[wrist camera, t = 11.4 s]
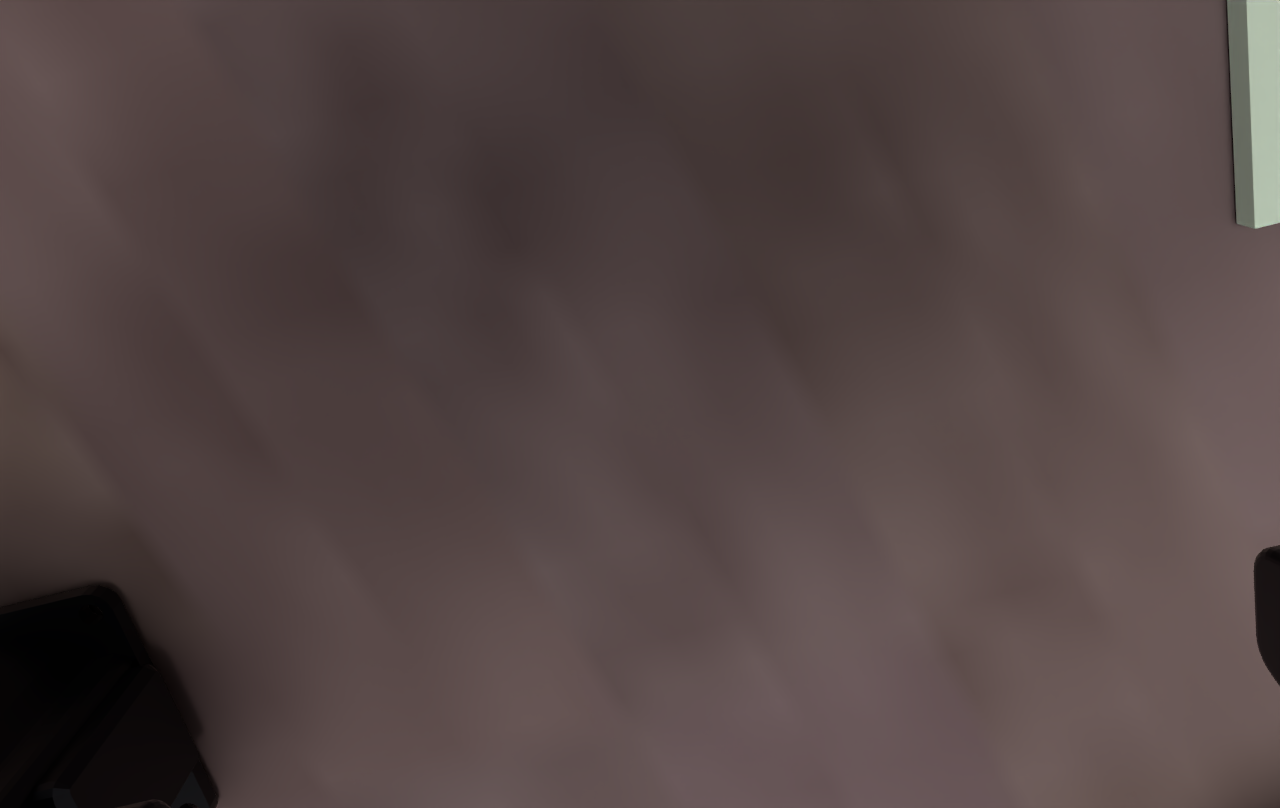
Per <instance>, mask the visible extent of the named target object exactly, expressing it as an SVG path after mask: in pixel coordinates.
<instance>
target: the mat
mask: <svg viewBox="0 0 1280 808" xmlns="http://www.w3.org/2000/svg"><path fill="white" fill-rule="evenodd" d="M1227 11H1228V34H1229V58H1230V81H1231V104H1232V127H1233V150H1234V174H1235V197H1236V220H1237V224H1239V225H1243V226H1247V227H1250V228H1254V229H1256V228H1260V227H1264V226H1268V225H1272V224H1276V223H1280V0H1227Z"/></svg>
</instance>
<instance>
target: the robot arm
mask: <svg viewBox="0 0 1280 808" xmlns="http://www.w3.org/2000/svg"><path fill="white" fill-rule="evenodd" d="M1254 591H1255V616H1256V637H1257V644H1258V648H1259V651H1260V654H1261V656H1262V659H1263V661H1264V663H1265V665H1266V667H1267V668H1268V670H1269V672H1270V673H1271V675H1272V676H1273V677H1274V679H1275V680H1276V681H1277V683H1278V684H1279V686H1280V545H1278V546H1274V547H1269V548H1266V549H1263V550H1262V551H1261V552H1260V553H1259V554H1258V555H1257V557H1256V560H1255V563H1254ZM88 605H94V606H96V607H98V608H99V609H100V610H101V611H102V613H103V615H97V614H95V613H93V612H92V611H91V610H90V609H89V606H88ZM187 803H192V804H194V805H196V806H197V807H198V808H216V807H217V803H218V801H217V797H216V794H215V792H214V790H213V788H212V786H211V784H210V782H209V780H208V778H207V775H206V773H205V771H204V769H203V767H202V765H201V763H200V761H199V753H198V751H197V749H196V747H195V745H194V743H193V741H192V739H191V737H190V734H189V732H188V730H187V728H186V726H185V724H184V722H183V720H182V718H181V716H180V714H179V712H178V710H177V708H176V706H175V704H174V701H173V699H172V697H171V695H170V693H169V691H168V689H167V687H166V685H165V683H164V681H163V679H162V677H161V675H160V673H159V671H157V670H156V669H155V668H154V666H153V664H152V662H151V660H150V658H149V656H148V654H147V652H146V650H145V648H144V646H143V644H142V642H141V640H140V638H139V636H138V633H137V631H136V629H135V627H134V625H133V623H132V621H131V619H130V617H129V615H128V613H127V611H126V609H125V607H124V605H123V603H122V601H121V599H120V598H119V596H118V595H117V594H116V593H115V592H114V591H112V590H111V589H109V588H107V587H103V586H100V585H97V586H88V587H84V588H79V589H75V590H71V591H67V592H63V593H59V594H54V595H50V596H46V597H42V598H38V599H34V600H29V601H25V602H21V603H17V604H13V605H9V606H4V607H0V808H193V807H190V806H189V805H188V804H187Z"/></svg>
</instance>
